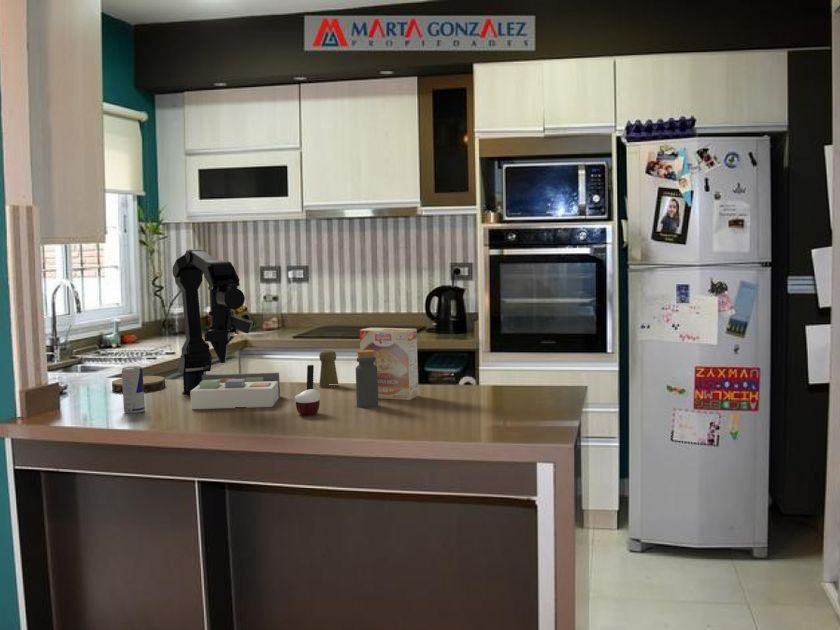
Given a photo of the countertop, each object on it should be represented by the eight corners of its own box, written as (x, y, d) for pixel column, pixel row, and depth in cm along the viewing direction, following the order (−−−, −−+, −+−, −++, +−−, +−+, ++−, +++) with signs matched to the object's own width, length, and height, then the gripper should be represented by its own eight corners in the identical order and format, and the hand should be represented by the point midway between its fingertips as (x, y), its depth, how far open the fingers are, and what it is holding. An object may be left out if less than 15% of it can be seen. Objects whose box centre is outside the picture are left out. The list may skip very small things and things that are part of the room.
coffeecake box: (360, 398, 237) (358, 329, 235) (371, 393, 243) (369, 327, 242) (409, 400, 231) (407, 330, 229) (419, 395, 238) (417, 327, 236)
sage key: (200, 396, 230) (199, 382, 230) (204, 393, 235) (203, 379, 234) (217, 396, 230) (216, 382, 230) (220, 393, 235) (219, 379, 235)
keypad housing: (191, 409, 227) (189, 383, 226) (203, 398, 242) (202, 374, 241) (272, 406, 227) (271, 381, 227) (280, 396, 242) (279, 372, 242)
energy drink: (149, 410, 227) (146, 366, 226) (136, 414, 222) (133, 369, 221) (132, 409, 229) (130, 366, 228) (119, 413, 224) (117, 369, 223)
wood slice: (162, 392, 256) (162, 382, 256) (108, 395, 253) (107, 385, 252) (167, 383, 271) (167, 374, 271) (116, 386, 268) (115, 377, 268)
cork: (340, 384, 260) (339, 349, 259) (336, 387, 254) (335, 351, 253) (321, 384, 261) (320, 349, 260) (317, 387, 255) (315, 352, 254)
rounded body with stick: (308, 419, 212) (307, 373, 210) (288, 417, 214) (286, 371, 213) (329, 410, 220) (327, 366, 218) (309, 408, 223) (308, 364, 221)
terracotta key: (251, 400, 231) (250, 385, 230) (254, 397, 235) (253, 382, 235) (268, 399, 231) (267, 385, 231) (270, 396, 235) (269, 382, 235)
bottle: (382, 404, 227) (380, 349, 225) (372, 408, 221) (370, 352, 220) (363, 403, 229) (361, 349, 228) (352, 407, 224) (350, 351, 222)
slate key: (225, 396, 230) (225, 381, 230) (229, 393, 235) (228, 379, 235) (242, 395, 231) (241, 381, 230) (245, 392, 235) (244, 378, 235)
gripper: (245, 309, 222) (247, 367, 223) (254, 303, 240) (256, 356, 242) (202, 310, 221) (205, 368, 223) (215, 304, 240) (217, 357, 241)
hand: (223, 362), depth 232 cm, fingers closed
